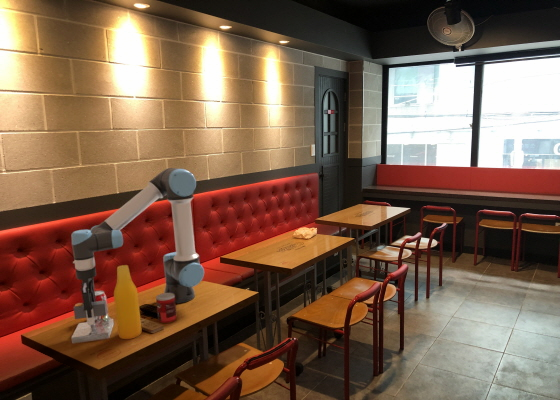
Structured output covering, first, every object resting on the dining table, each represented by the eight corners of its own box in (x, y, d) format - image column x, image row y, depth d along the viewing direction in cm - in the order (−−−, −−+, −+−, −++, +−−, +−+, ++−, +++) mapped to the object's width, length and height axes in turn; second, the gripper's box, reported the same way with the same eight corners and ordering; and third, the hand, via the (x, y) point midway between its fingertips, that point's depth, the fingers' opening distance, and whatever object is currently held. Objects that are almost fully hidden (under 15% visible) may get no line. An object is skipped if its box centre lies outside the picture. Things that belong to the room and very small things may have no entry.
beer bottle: (146, 329, 192) (138, 263, 188) (135, 340, 183) (127, 270, 179) (125, 329, 194) (118, 263, 190) (114, 339, 185) (105, 270, 181)
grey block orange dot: (108, 323, 194) (105, 299, 193) (107, 327, 191) (104, 302, 189) (78, 327, 192) (75, 303, 190) (76, 331, 188) (73, 306, 186)
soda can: (102, 321, 203) (99, 296, 201) (88, 321, 205) (85, 295, 203) (111, 315, 210) (108, 290, 208) (97, 314, 211) (94, 289, 209)
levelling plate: (113, 324, 200) (112, 312, 199) (108, 338, 186) (107, 325, 186) (79, 328, 197) (78, 317, 196) (72, 343, 184) (70, 330, 183)
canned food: (161, 316, 206) (158, 293, 204) (178, 315, 205) (176, 292, 203) (156, 323, 198) (153, 299, 196) (174, 323, 198) (172, 298, 196)
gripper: (80, 263, 195) (86, 315, 198) (70, 275, 178) (78, 331, 182) (98, 261, 196) (105, 312, 200) (91, 273, 180) (98, 329, 183)
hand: (92, 321), depth 191 cm, fingers closed on grey block orange dot, 4 cm apart
